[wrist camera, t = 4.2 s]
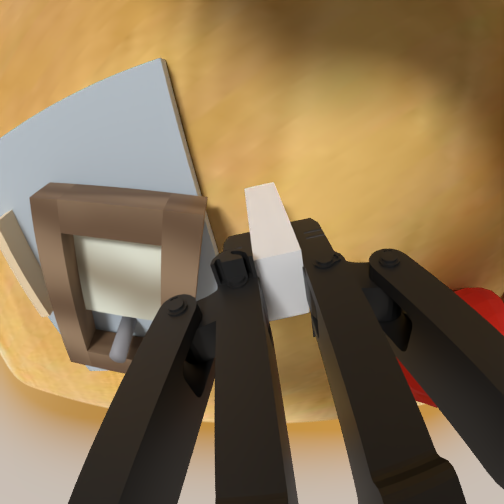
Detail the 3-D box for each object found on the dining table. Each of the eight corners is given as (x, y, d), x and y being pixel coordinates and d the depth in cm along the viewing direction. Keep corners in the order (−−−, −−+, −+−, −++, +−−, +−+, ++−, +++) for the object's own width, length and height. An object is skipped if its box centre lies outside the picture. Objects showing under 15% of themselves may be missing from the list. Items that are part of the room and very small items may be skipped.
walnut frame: (49, 182, 15) (29, 197, 13) (207, 197, 16) (204, 215, 14) (79, 340, 22) (70, 361, 20) (191, 359, 23) (189, 382, 21)
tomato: (378, 377, 30) (402, 441, 22) (376, 303, 23) (419, 386, 16) (473, 333, 28) (506, 384, 21) (493, 253, 22) (546, 309, 14)
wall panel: (-20, 156, 14) (-63, 180, 10) (165, 59, 13) (138, 50, 9) (93, 361, 26) (80, 401, 21) (248, 344, 25) (252, 393, 20)
